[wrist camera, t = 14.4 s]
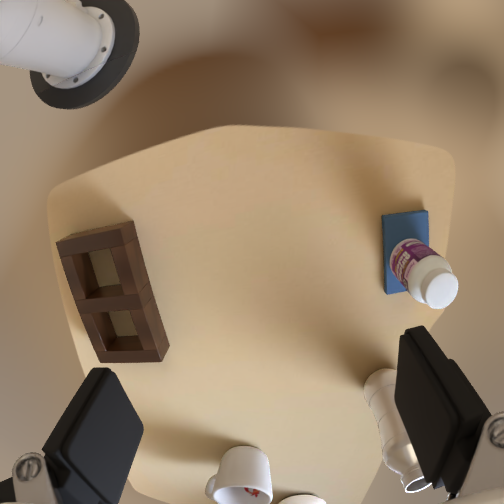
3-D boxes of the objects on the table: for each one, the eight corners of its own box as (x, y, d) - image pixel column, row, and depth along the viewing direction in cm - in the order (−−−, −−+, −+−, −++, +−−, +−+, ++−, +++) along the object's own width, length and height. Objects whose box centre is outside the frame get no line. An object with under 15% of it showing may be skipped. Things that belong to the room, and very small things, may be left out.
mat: (381, 215, 36) (384, 217, 35) (424, 209, 36) (428, 211, 35) (384, 291, 39) (386, 294, 38) (424, 283, 39) (427, 286, 38)
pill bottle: (386, 241, 36) (419, 271, 27) (425, 234, 36) (465, 260, 26) (389, 283, 38) (418, 321, 29) (426, 274, 37) (462, 308, 28)
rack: (71, 233, 39) (55, 242, 35) (133, 220, 38) (120, 228, 34) (110, 348, 44) (100, 363, 41) (170, 345, 43) (162, 362, 40)
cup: (228, 477, 54) (223, 517, 44) (193, 454, 52) (184, 496, 42) (284, 458, 50) (284, 502, 41) (250, 433, 48) (246, 479, 39)
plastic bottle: (379, 400, 45) (413, 501, 26) (351, 384, 44) (380, 494, 25) (408, 373, 43) (456, 472, 24) (381, 355, 42) (428, 463, 23)
